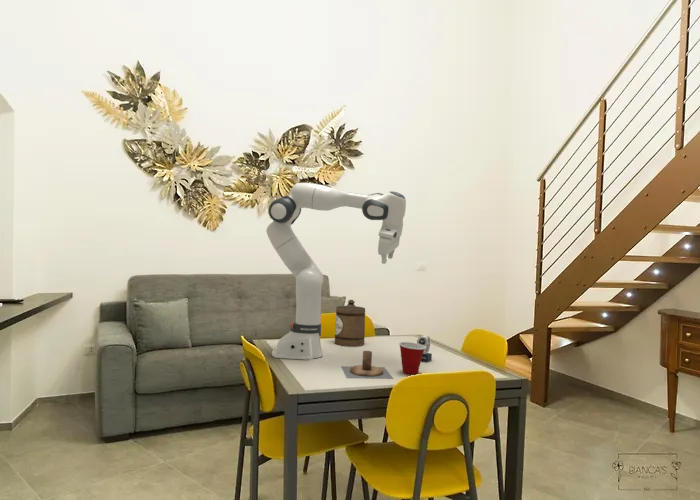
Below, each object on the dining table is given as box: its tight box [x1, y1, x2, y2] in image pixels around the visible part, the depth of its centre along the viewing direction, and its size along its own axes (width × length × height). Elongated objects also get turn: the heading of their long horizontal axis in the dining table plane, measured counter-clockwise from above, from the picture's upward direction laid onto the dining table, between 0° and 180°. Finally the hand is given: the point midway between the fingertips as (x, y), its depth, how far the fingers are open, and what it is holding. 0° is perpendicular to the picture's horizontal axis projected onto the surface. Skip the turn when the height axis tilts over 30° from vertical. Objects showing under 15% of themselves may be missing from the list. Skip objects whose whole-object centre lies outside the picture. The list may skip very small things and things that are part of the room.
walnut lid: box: [350, 350, 383, 377], centre depth 212 cm, size 13×13×8 cm
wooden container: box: [334, 299, 366, 347], centre depth 269 cm, size 15×15×22 cm
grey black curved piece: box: [416, 335, 433, 363], centre depth 240 cm, size 6×8×11 cm
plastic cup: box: [398, 341, 426, 376], centre depth 214 cm, size 11×11×12 cm
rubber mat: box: [341, 365, 394, 380], centre depth 212 cm, size 18×18×1 cm
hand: (387, 260), depth 234 cm, fingers open, 8 cm apart
